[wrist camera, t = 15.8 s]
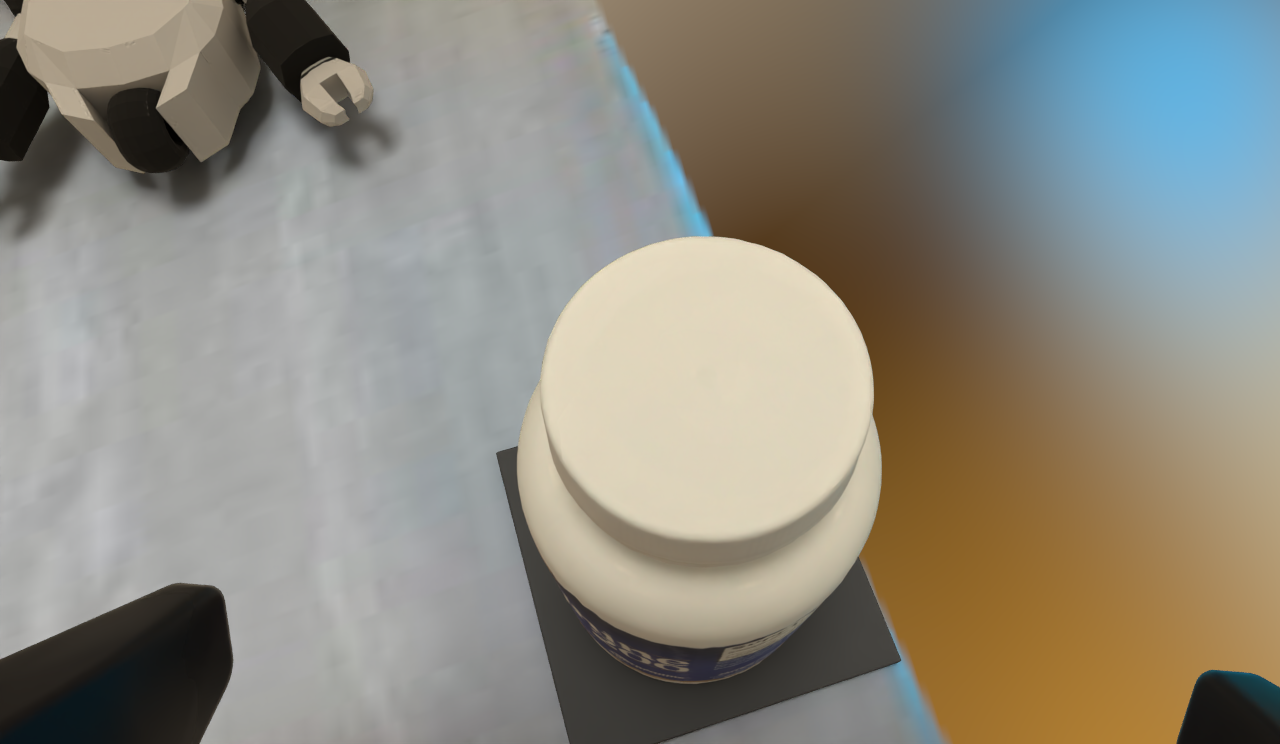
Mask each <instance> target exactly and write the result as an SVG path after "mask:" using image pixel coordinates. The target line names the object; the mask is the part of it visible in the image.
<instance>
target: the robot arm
mask: <svg viewBox="0 0 1280 744" xmlns="http://www.w3.org/2000/svg"><path fill="white" fill-rule="evenodd" d="M232 668H233V653H232V646H231V639H230V632H229V625H228V618H227V611H226V604H225V600H224V596H223V594H222V592H221V591H220V590H219V589H218V588H216V587H215V586H210V585H198V584H187V583H175V584H171V585H168V586H166V587H164V588H162V589H159V590H157V591H155V592H153V593H150V594H148V595H146V596H143V597H141V598H139V599H137V600H134V601H132V602H130V603H128V604H125V605H123V606H121V607H118V608H116V609H114V610H112V611H109V612H107V613H105V614H103V615H100V616H98V617H96V618H93V619H91V620H89V621H87V622H84V623H82V624H80V625H78V626H75V627H73V628H71V629H68V630H66V631H64V632H62V633H59V634H57V635H55V636H53V637H50V638H48V639H46V640H43V641H41V642H39V643H37V644H34V645H32V646H30V647H27V648H25V649H23V650H21V651H18V652H16V653H14V654H12V655H9V656H7V657H5V658H2V659H0V744H199V743H200V741H201V739H202V737H203V735H204V733H205V731H206V729H207V727H208V725H209V723H210V721H211V719H212V716H213V714H214V712H215V710H216V708H217V706H218V704H219V702H220V700H221V698H222V696H223V694H224V692H225V690H226V688H227V685H228V683H229V680H230V677H231V673H232ZM1177 744H1280V688H1279V687H1278V686H1276V685H1275V684H1273V683H1271V682H1269V681H1268V680H1266V679H1264V678H1262V677H1260V676H1258V675H1255V674H1252V673H1244V672H1232V671H1220V670H1209V671H1207V672H1204V673H1203V674H1202V675H1201V676H1200V677H1199V678H1198V679H1197V681H1196V684H1195V686H1194V689H1193V692H1192V695H1191V698H1190V702H1189V705H1188V708H1187V711H1186V714H1185V717H1184V720H1183V723H1182V727H1181V729H1180V732H1179V735H1178V739H1177Z"/></svg>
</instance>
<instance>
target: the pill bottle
mask: <svg viewBox="0 0 1280 744" xmlns="http://www.w3.org/2000/svg"><path fill="white" fill-rule="evenodd" d="M873 387H874V386H873V374H872V368H871V362H870V358H869V355H868V351H867V347H866V345H865V342H864V340H863V337H862V335H861V332H860V330H859V328H858V326H857V324H856V322H855V320H854V318H853V317H852V315H851V314H850V312H849V311H848V309H847V308H846V306H845V305H844V303H843V302H842V301H841V299H840V298H839V297H838V296H837V295H836V294H835V293H834V292H833V291H832V290H831V289H830V288H829V286H828V285H826V283H825V282H823V281H822V280H821V279H820V278H819V277H818V276H817V275H815V274H814V273H812V272H811V271H809V270H808V269H806V268H805V267H803V266H802V265H800V264H799V263H797V262H796V261H794V260H792V259H790V258H789V257H787V256H786V255H784V254H782V253H779V252H776V251H773V250H771V249H769V248H766V247H764V246H761V245H757V244H753V243H749V242H745V241H742V240H738V239H733V238H724V237H697V236H693V237H684V238H677V239H671V240H666V241H663V242H659V243H655V244H651V245H648V246H645V247H643V248H640V249H638V250H635V251H633V252H630V253H628V254H626V255H624V256H622V257H621V258H619V259H617V260H615V261H614V262H612V263H610V264H609V265H607V266H606V267H605V268H603V269H602V270H600V271H599V272H597V273H596V274H595V275H594V276H593V277H591V278H590V279H589V280H588V281H587V282H586V283H585V284H584V285H582V286H581V288H580V289H579V290H578V291H577V293H576V294H575V295H574V296H573V297H572V299H571V300H570V301H569V303H568V304H567V305H566V306H565V308H564V310H563V311H562V313H561V314H560V316H559V318H558V320H557V322H556V324H555V326H554V328H553V331H552V333H551V335H550V337H549V339H548V342H547V346H546V350H545V354H544V358H543V362H542V370H541V378H540V381H539V383H538V385H537V387H536V388H535V390H534V393H533V395H532V397H531V399H530V402H529V404H528V407H527V410H526V413H525V416H524V420H523V424H522V427H521V432H520V437H519V443H518V453H517V478H518V488H519V493H520V499H521V504H522V509H523V512H524V515H525V518H526V521H527V524H528V527H529V530H530V532H531V535H532V537H533V540H534V542H535V544H536V546H537V548H538V551H539V553H540V555H541V557H542V559H543V560H544V562H545V564H546V565H547V567H548V568H549V570H550V572H551V573H552V575H553V577H554V579H555V580H556V582H557V584H558V585H559V587H560V589H561V591H562V593H563V595H564V596H565V598H566V600H567V601H568V602H569V604H570V606H571V607H572V609H573V611H574V612H575V614H576V615H577V617H578V619H579V620H580V622H581V624H582V625H583V627H584V628H585V629H586V630H587V631H588V632H589V634H590V635H591V636H592V637H593V638H594V639H595V641H596V642H597V643H598V644H599V645H600V646H601V647H602V648H603V649H604V650H606V651H607V652H608V653H609V654H610V655H611V656H613V657H614V658H615V659H616V660H618V661H619V662H621V663H623V664H624V665H626V666H627V667H629V668H631V669H633V670H635V671H637V672H639V673H641V674H643V675H646V676H649V677H651V678H654V679H658V680H662V681H666V682H673V683H683V684H698V683H706V682H712V681H717V680H722V679H726V678H729V677H732V676H734V675H737V674H739V673H742V672H744V671H746V670H748V669H750V668H752V667H753V666H755V665H757V664H758V663H760V662H761V661H762V660H764V659H765V658H766V657H768V656H769V655H770V654H772V653H773V652H774V651H775V650H776V649H777V648H779V647H780V646H781V645H782V644H783V643H784V642H785V641H786V640H787V639H788V638H789V637H790V636H791V635H792V634H793V633H794V632H795V631H796V630H797V629H798V628H799V627H800V626H801V625H802V624H803V623H804V622H805V621H806V620H807V619H808V618H809V617H810V616H811V614H812V613H813V612H814V611H815V610H816V609H817V608H818V607H819V606H820V605H821V604H822V603H823V602H824V600H825V599H826V598H828V597H829V596H830V595H831V594H832V593H833V591H834V590H835V589H836V588H837V587H838V586H839V585H840V583H841V582H842V581H843V579H844V578H845V576H846V575H847V573H848V572H849V570H850V569H851V567H852V566H853V564H854V563H855V561H856V559H857V557H858V556H859V554H860V552H861V550H862V548H863V546H864V544H865V542H866V540H867V538H868V536H869V534H870V531H871V528H872V525H873V523H874V520H875V516H876V512H877V507H878V502H879V496H880V490H881V474H882V473H881V472H882V471H881V470H882V468H881V467H882V463H881V451H880V443H879V438H878V433H877V429H876V425H875V422H874V419H873V416H872V411H873V403H874V388H873Z"/></svg>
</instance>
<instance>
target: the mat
mask: <svg viewBox="0 0 1280 744" xmlns="http://www.w3.org/2000/svg"><path fill="white" fill-rule="evenodd" d="M517 453H518V446H517V447H514V448H510V449H507V450H503V451H500V452H497V453H496V455H497V459H498V463H499V467H500V471H501V475H502V478H503V482H504V486H505V490H506V494H507V498H508V502H509V506H510V510H511V514H512V518H513V522H514V526H515V530H516V534H517V538H518V541H519V545H520V549H521V553H522V557H523V561H524V565H525V569H526V573H527V577H528V581H529V585H530V589H531V593H532V597H533V601H534V604H535V608H536V612H537V616H538V620H539V624H540V628H541V632H542V636H543V640H544V644H545V648H546V652H547V656H548V660H549V664H550V667H551V671H552V675H553V679H554V683H555V687H556V691H557V695H558V699H559V703H560V707H561V711H562V715H563V719H564V723H565V727H566V730H567V734H568V738H569V742H570V744H656V743H659V742H662V741H665V740H668V739H671V738H674V737H677V736H680V735H683V734H686V733H689V732H692V731H695V730H698V729H701V728H704V727H707V726H710V725H713V724H716V723H719V722H722V721H725V720H728V719H731V718H734V717H737V716H740V715H743V714H746V713H749V712H752V711H755V710H758V709H761V708H764V707H767V706H770V705H773V704H776V703H779V702H782V701H784V700H787V699H790V698H793V697H796V696H799V695H802V694H805V693H808V692H811V691H814V690H817V689H820V688H823V687H826V686H829V685H832V684H835V683H838V682H841V681H844V680H847V679H850V678H853V677H856V676H859V675H862V674H865V673H868V672H871V671H874V670H877V669H880V668H883V667H886V666H889V665H892V664H895V663H897V662H900V661H901V659H900V656H899V654H898V651H897V649H896V646H895V644H894V642H893V639H892V637H891V634H890V632H889V630H888V627H887V625H886V622H885V620H884V617H883V615H882V613H881V610H880V608H879V605H878V603H877V600H876V598H875V596H874V593H873V591H872V588H871V586H870V584H869V581H868V579H867V576H866V574H865V571H864V569H863V567H862V564H861V562H860V559H859V557H857V559H856V561H855V563H854V564H853V566H852V567H851V569H850V570H849V572H848V573H847V575H846V576H845V578H844V579H843V581H842V582H841V583H840V585H839V586H838V587H837V588H836V589H835V590H834V591H833V593H832V594H831V595H830V596H829V597H828V598H826V599H825V600H824V602H823V603H822V604H821V605H820V606H819V607H818V608H817V609H816V610H815V611H814V612H813V613H812V614H811V616H810V617H809V618H808V619H807V620H806V621H805V622H804V623H803V624H802V625H801V626H800V627H799V628H798V629H797V630H796V631H795V632H794V633H793V634H792V635H791V636H790V637H789V638H788V639H787V640H786V641H785V642H784V643H783V644H782V645H781V646H780V647H779V648H777V649H776V650H775V651H774V652H773V653H772V654H770V655H769V656H768V657H766V658H765V659H764V660H762V661H761V662H760V663H758V664H757V665H755V666H753V667H752V668H750V669H748V670H746V671H744V672H742V673H739V674H737V675H734V676H732V677H729V678H726V679H722V680H717V681H712V682H706V683H698V684H683V683H673V682H666V681H662V680H658V679H654V678H651V677H649V676H646V675H643V674H641V673H639V672H637V671H635V670H633V669H631V668H629V667H627V666H626V665H624V664H623V663H621V662H619V661H618V660H616V659H615V658H614V657H613V656H611V655H610V654H609V653H608V652H607V651H606V650H604V649H603V648H602V647H601V646H600V645H599V644H598V643H597V642H596V641H595V639H594V638H593V637H592V636H591V635H590V634H589V632H588V631H587V630H586V629H585V628H584V627H583V625H582V624H581V622H580V620H579V619H578V617H577V615H576V614H575V612H574V611H573V609H572V607H571V606H570V604H569V602H568V601H567V600H566V598H565V596H564V595H563V593H562V591H561V589H560V587H559V585H558V584H557V582H556V580H555V579H554V577H553V575H552V573H551V572H550V570H549V568H548V567H547V565H546V564H545V562H544V560H543V559H542V557H541V555H540V553H539V551H538V548H537V546H536V544H535V542H534V540H533V537H532V535H531V532H530V530H529V527H528V524H527V521H526V518H525V515H524V512H523V509H522V504H521V499H520V493H519V488H518V478H517Z"/></svg>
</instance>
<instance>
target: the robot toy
mask: <svg viewBox="0 0 1280 744" xmlns="http://www.w3.org/2000/svg"><path fill="white" fill-rule="evenodd" d="M4 1H5V2H6V4H7V5H8V7H9V8H10V10H11V11H12V13H13V14H14V16H15V17H16V18H15V20H14V22H13V23H12V25H11V27H10V29H9V31H8V33H7V34H6V36H5V38H4V39H1V40H0V160H3V161H22V160H23V158H24V156H25V154H26V152H27V150H28V148H29V146H30V144H31V143H32V141H33V139H34V137H35V135H36V133H37V131H38V129H39V127H40V125H41V123H42V121H43V119H44V117H45V115H46V113H47V111H48V109H49V101H48V94H47V91H48V92H49V93H50V94H51V95H52V97H53V99H54V101H55V103H56V105H57V106H58V108H59V110H60V112H61V114H62V115H63V116H64V117H65V118H66V119H67V120H68V121H69V122H70V123H71V124H72V125H73V126H74V127H75V128H76V129H77V130H78V131H79V132H80V133H81V134H82V135H83V136H84V137H85V138H86V139H87V140H88V141H89V142H90V143H91V144H92V145H93V146H94V147H95V148H96V149H97V150H98V151H99V152H100V153H101V154H102V155H103V156H104V157H105V158H106V159H108V160H109V161H110V162H111V163H112V164H113V165H114V166H115V167H116V168H120V169H125V170H130V171H135V172H139V173H144V174H145V172H148V173H161V172H169V171H171V170H174V169H177V168H178V167H179V166H181V165H182V164H183V163H184V161H185V159H186V157H187V156H188V154H189V148H190V150H191V151H192V152H193V153H194V154H195V156H196V157H197V158H198V159H199V160H200V162H202V161H204V160H205V159H207V158H209V157H210V156H212V155H213V154H215V153H216V152H218V151H219V150H221V149H222V148H224V147H225V146H227V145H228V144H229V142H230V139H231V136H232V133H233V130H234V127H235V124H236V121H237V118H238V115H239V111H240V109H241V108H242V107H243V106H244V104H245V103H247V102H249V101H248V100H249V99H250V97H251V96H252V95H253V94H254V91H255V87H256V83H257V80H258V76H259V73H260V69H261V67H260V63H259V59H258V55H259V56H260V57H261V58H262V60H263V61H264V62H265V63H266V65H267V66H268V67H269V68H270V70H271V71H272V72H273V73H274V75H275V76H276V77H277V78H278V80H279V81H280V82H281V83H282V85H283V86H284V87H285V88H286V89H287V90H288V91H289V92H290V93H291V94H292V95H293V96H295V97H296V98H297V99H298V100H299V101H300V102H301V103H302V108H303V110H304V111H306V112H307V113H308V114H310V115H311V116H312V117H314V118H315V119H316V120H318V121H319V122H321V123H323V124H325V125H327V126H329V127H333V126H339V125H342V124H343V123H345V122H347V121H348V120H350V119H349V118H348V117H347V116H346V113H345V109H344V108H342V107H341V106H340V105H338V104H337V103H338V102H340V101H342V100H343V99H345V98H346V97H349V98H350V99H351V101H352V102H353V103H354V104H355V106H356V107H357V108H358V112H359V113H361V112H363V111H364V110H366V109H367V108H368V107H369V105H370V104H371V102H372V98H373V87H372V85H371V83H370V81H369V79H368V76H367V74H366V72H365V71H364V70H363V69H361V68H359V67H357V66H356V65H354V64H351V63H350V58H349V51H348V50H347V49H346V47H345V46H344V45H343V44H342V43H341V41H340V40H339V39H338V38H337V37H336V36H335V34H334V33H333V32H332V31H331V30H330V28H329V27H328V26H327V25H326V24H325V22H324V21H323V20H322V19H321V18H320V17H319V15H318V14H317V13H316V12H315V11H314V10H313V9H312V7H311V6H310V5H309V4H308V3H307V2H306V1H305V0H4ZM243 3H245V4H246V16H245V13H244V11H243V9H242V7H241V5H240V4H243ZM257 53H258V55H257Z"/></svg>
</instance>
